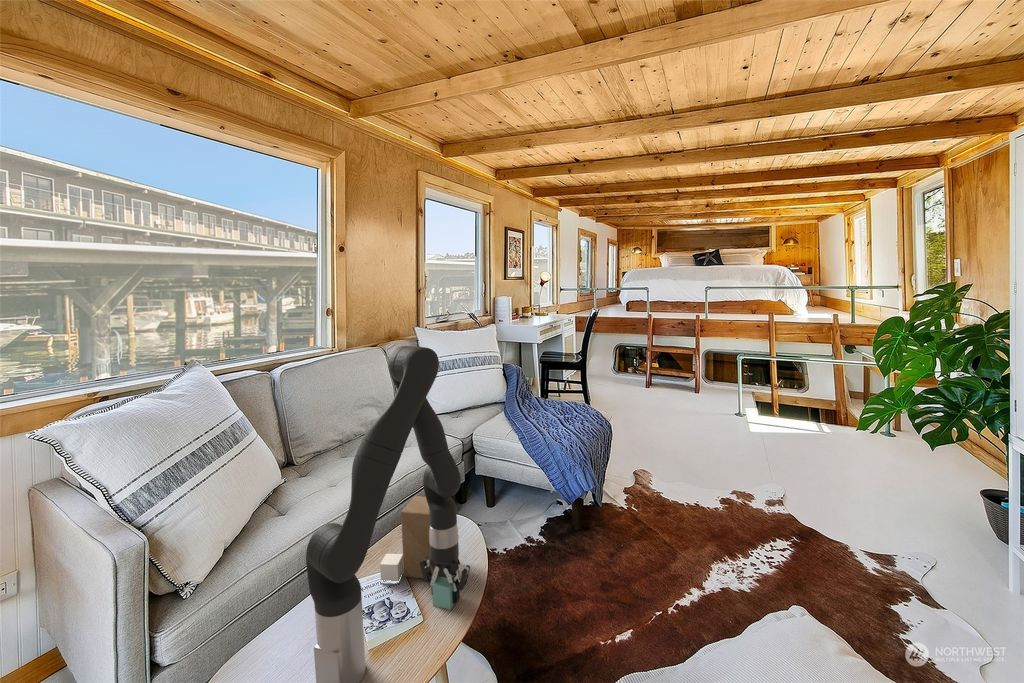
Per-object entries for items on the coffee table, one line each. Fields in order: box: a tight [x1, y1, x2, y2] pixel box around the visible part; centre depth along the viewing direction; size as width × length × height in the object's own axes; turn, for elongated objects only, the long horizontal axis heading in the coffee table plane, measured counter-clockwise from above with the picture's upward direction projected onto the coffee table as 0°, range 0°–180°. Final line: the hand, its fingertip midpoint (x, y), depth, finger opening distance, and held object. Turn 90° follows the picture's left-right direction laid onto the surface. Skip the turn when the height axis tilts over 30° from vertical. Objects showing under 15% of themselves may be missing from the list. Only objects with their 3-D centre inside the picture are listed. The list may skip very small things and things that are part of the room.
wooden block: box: [400, 495, 434, 580], centre depth 130 cm, size 10×10×20 cm
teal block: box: [431, 577, 455, 611], centre depth 117 cm, size 5×5×6 cm
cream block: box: [379, 553, 404, 581], centre depth 126 cm, size 5×5×6 cm
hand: (445, 598), depth 117 cm, fingers closed on teal block, 5 cm apart
